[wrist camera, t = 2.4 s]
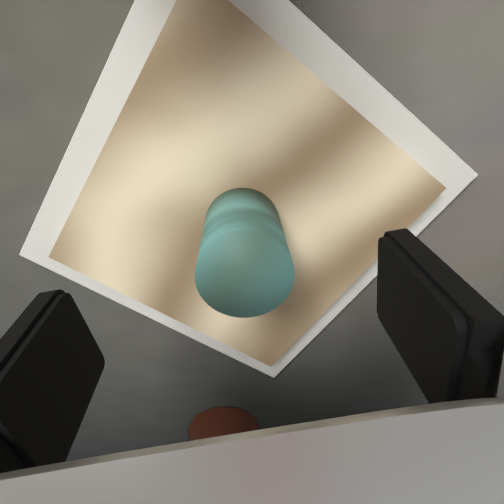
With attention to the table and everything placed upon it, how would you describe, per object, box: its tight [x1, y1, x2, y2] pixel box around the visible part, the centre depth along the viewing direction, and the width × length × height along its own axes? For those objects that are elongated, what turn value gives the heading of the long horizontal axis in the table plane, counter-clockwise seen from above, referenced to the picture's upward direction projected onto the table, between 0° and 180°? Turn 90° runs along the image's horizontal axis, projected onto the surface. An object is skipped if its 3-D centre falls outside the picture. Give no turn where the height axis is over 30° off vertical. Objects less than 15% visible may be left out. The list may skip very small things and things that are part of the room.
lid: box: [49, 0, 446, 367], centre depth 15 cm, size 14×14×6 cm
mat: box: [19, 0, 478, 378], centre depth 18 cm, size 17×17×1 cm
